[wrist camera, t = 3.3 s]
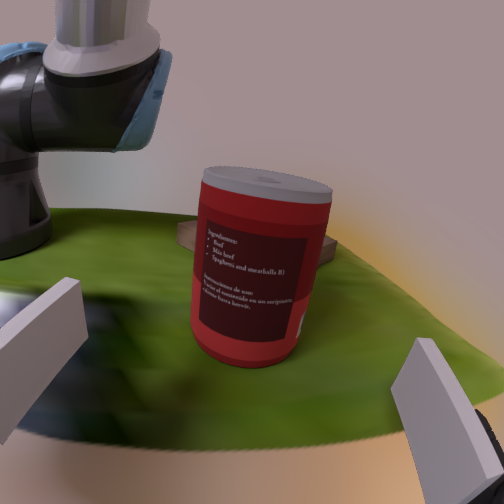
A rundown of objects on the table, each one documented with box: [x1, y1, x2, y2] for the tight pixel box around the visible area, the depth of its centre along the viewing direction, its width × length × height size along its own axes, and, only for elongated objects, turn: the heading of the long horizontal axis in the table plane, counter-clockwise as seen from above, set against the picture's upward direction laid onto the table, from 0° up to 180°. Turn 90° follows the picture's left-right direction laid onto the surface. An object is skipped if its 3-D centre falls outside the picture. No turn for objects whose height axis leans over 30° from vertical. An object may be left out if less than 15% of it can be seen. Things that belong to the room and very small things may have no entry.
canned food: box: [190, 166, 333, 368], centre depth 19 cm, size 8×8×11 cm
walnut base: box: [177, 220, 337, 266], centre depth 37 cm, size 14×14×2 cm
